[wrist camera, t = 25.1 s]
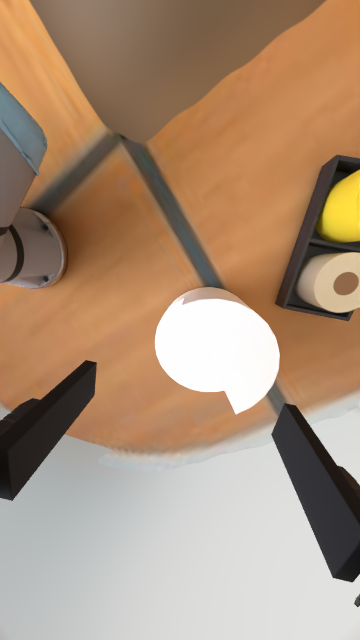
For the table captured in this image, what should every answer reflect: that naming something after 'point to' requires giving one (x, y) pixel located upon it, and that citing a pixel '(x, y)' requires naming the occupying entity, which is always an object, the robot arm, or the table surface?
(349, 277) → the paper roll
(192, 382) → the white notched cylinder
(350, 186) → the tape roll
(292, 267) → the rack
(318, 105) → the table surface
